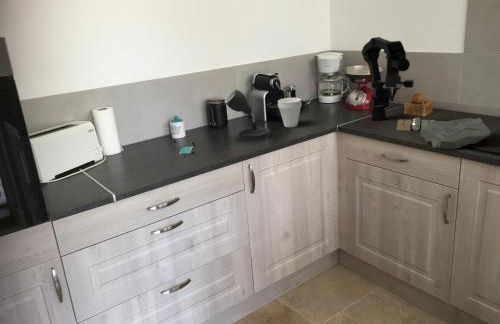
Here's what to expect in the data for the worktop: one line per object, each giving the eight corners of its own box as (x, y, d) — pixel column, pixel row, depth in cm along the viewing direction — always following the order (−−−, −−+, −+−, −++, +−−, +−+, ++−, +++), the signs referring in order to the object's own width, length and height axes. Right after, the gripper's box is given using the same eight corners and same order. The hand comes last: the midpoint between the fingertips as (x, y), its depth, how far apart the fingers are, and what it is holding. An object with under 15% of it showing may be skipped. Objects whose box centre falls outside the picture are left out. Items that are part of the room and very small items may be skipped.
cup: (286, 129, 220) (284, 103, 215) (275, 125, 231) (273, 100, 226) (306, 125, 224) (305, 99, 220) (295, 121, 235) (293, 96, 231)
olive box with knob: (396, 130, 202) (396, 122, 201) (398, 124, 212) (398, 117, 211) (419, 130, 198) (420, 123, 197) (420, 124, 208) (420, 117, 207)
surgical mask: (171, 139, 207) (192, 135, 210) (173, 147, 208) (193, 144, 211) (180, 150, 188) (202, 146, 191) (181, 159, 190) (203, 155, 193)
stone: (436, 140, 167) (414, 121, 185) (434, 159, 171) (413, 138, 189) (505, 129, 168) (477, 111, 186) (502, 148, 172) (475, 129, 189)
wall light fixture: (222, 89, 211) (262, 82, 213) (230, 137, 220) (268, 130, 221) (224, 94, 197) (267, 87, 198) (232, 145, 205) (273, 138, 206)
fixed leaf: (411, 130, 200) (411, 123, 199) (412, 124, 209) (412, 117, 208) (434, 131, 196) (435, 123, 195) (434, 124, 205) (435, 117, 204)
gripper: (369, 72, 199) (369, 105, 205) (412, 71, 192) (410, 105, 197) (373, 68, 209) (373, 100, 214) (414, 67, 201) (413, 100, 206)
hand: (391, 101), depth 208 cm, fingers closed
